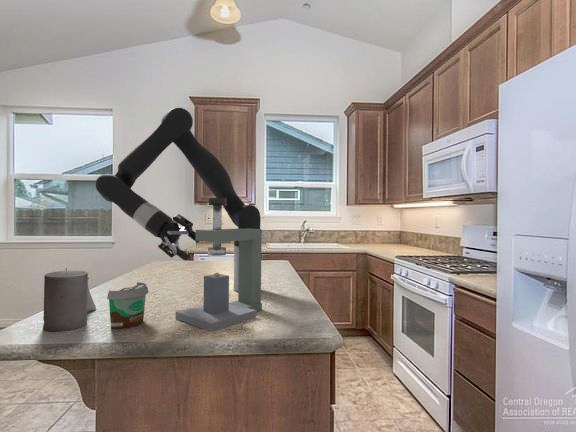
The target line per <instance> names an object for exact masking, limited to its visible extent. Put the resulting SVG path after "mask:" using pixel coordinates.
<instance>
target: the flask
mask: <svg viewBox="0 0 576 432" xmlns="http://www.w3.org/2000/svg"><path fill="white" fill-rule="evenodd" d="M89 279H90V277H89V276H88V280H89ZM95 310H97V306H96V304H95V301H94V299H93V296H92V293H91V292H90V286H88V294H87V313H88V312H89V313H90V312H92V311H95Z"/></svg>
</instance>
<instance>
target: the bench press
mask: <svg viewBox="0 0 576 432" xmlns="http://www.w3.org/2000/svg"><path fill="white" fill-rule="evenodd" d="M262 231H263V230H262V229H261V228H260V229H241V228H240V229H238V228H221V230H216V231H215V230H213V228H212V229H210V228H209V229H195V232H196V241H199V242H206V243H207V242H208V243H213V242H221V243H225V242H226V243H228V242H234V241H239V286H238V295H237V296H238V299H237V300H236V301H231V302H229V311H226V312H222V313H218V314H212V313H208V312H205V311H204V304H201V305H197V306H194V307H193V306H192V307H188V308H184V309H180V310H175V319H176V320H179V321H180V322H184V323H186V324H189V325H192V326H194V327H197V328H200V329H202V330H206V331H208V332H213V331H217V330H221V329H224V328H226V327H230V326H232V325H236V324H238V323H242V322H246V321H249V320H251V319H255V318H257V312H259V311H260V312H261V311H262V310H263V303H262V240H263V239H262V237H263V236H262V235H263V233H262ZM196 241H195V242H196Z"/></svg>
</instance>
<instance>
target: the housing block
mask: <svg viewBox="0 0 576 432" xmlns="http://www.w3.org/2000/svg"><path fill="white" fill-rule="evenodd" d="M229 303H230V275H227V274H222V273H220V272H214V273H213V274H207V275H203V305H204V311H205V312H208V313H212V314H218V313H222V312H226V311H229Z"/></svg>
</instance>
